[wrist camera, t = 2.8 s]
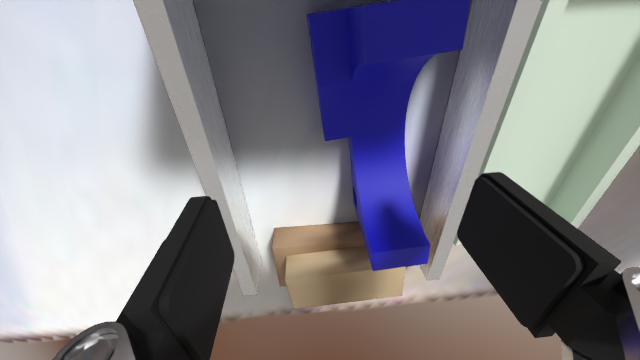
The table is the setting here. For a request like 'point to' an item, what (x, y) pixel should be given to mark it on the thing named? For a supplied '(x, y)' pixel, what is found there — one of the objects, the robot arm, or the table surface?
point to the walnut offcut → (313, 241)
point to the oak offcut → (339, 278)
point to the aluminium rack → (453, 147)
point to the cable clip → (380, 107)
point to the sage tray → (572, 105)
